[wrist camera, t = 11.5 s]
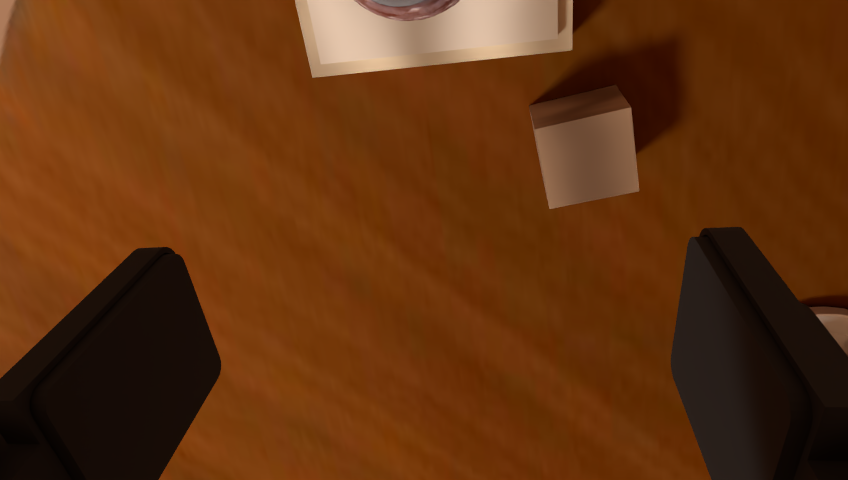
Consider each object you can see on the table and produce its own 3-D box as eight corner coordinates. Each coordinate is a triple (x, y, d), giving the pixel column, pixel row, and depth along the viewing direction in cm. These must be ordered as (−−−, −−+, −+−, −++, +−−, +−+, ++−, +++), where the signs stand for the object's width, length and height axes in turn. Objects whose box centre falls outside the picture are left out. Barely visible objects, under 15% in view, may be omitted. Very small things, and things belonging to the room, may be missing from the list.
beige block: (615, 84, 33) (631, 107, 29) (623, 161, 35) (639, 191, 32) (528, 104, 34) (534, 129, 30) (542, 178, 36) (549, 209, 33)
